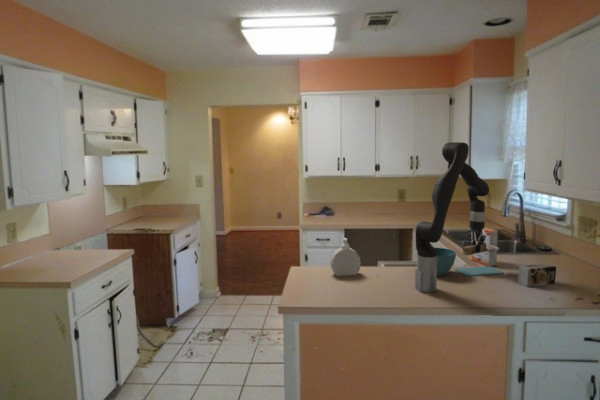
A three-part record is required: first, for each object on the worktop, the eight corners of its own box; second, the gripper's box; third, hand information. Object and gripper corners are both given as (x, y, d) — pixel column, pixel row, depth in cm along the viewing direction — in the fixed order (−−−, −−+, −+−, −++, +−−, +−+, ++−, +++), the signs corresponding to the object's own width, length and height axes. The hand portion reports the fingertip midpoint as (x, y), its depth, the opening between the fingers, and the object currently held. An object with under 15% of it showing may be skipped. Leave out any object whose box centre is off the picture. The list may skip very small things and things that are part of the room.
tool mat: (465, 276, 210) (466, 275, 210) (454, 269, 222) (454, 268, 222) (503, 273, 213) (503, 272, 213) (490, 267, 225) (490, 266, 225)
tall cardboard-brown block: (468, 256, 212) (467, 249, 211) (461, 253, 219) (460, 246, 218) (499, 250, 214) (498, 243, 213) (491, 246, 221) (490, 240, 220)
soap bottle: (358, 271, 222) (358, 237, 219) (360, 274, 217) (360, 239, 214) (330, 273, 220) (329, 238, 217) (332, 276, 215) (331, 240, 212)
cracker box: (470, 260, 239) (472, 226, 236) (479, 259, 241) (480, 225, 238) (488, 267, 226) (489, 231, 223) (496, 265, 228) (498, 230, 225)
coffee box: (528, 269, 192) (556, 266, 195) (518, 265, 198) (546, 262, 201) (527, 287, 193) (555, 284, 196) (517, 283, 199) (545, 280, 202)
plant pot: (413, 272, 218) (413, 251, 217) (432, 266, 229) (433, 245, 228) (442, 281, 204) (443, 258, 202) (462, 273, 215) (462, 251, 213)
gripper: (463, 217, 220) (462, 247, 222) (478, 222, 206) (477, 254, 209) (476, 217, 221) (474, 247, 223) (491, 221, 207) (490, 253, 210)
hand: (476, 250), depth 216 cm, fingers closed on tall cardboard-brown block, 3 cm apart
